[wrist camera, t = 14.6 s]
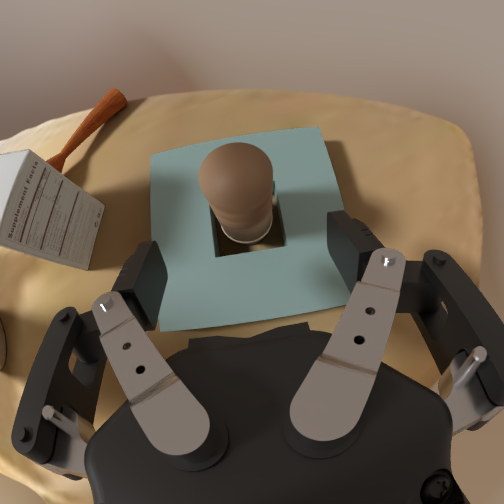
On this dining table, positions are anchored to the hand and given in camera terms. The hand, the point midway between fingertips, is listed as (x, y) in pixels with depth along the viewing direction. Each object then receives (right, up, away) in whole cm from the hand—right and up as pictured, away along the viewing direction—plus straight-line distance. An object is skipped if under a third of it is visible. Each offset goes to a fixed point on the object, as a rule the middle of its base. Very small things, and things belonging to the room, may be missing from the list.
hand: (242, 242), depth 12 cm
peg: (0, +2, +11) cm, 11 cm away
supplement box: (-19, +2, +13) cm, 23 cm away
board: (0, +2, +11) cm, 12 cm away
